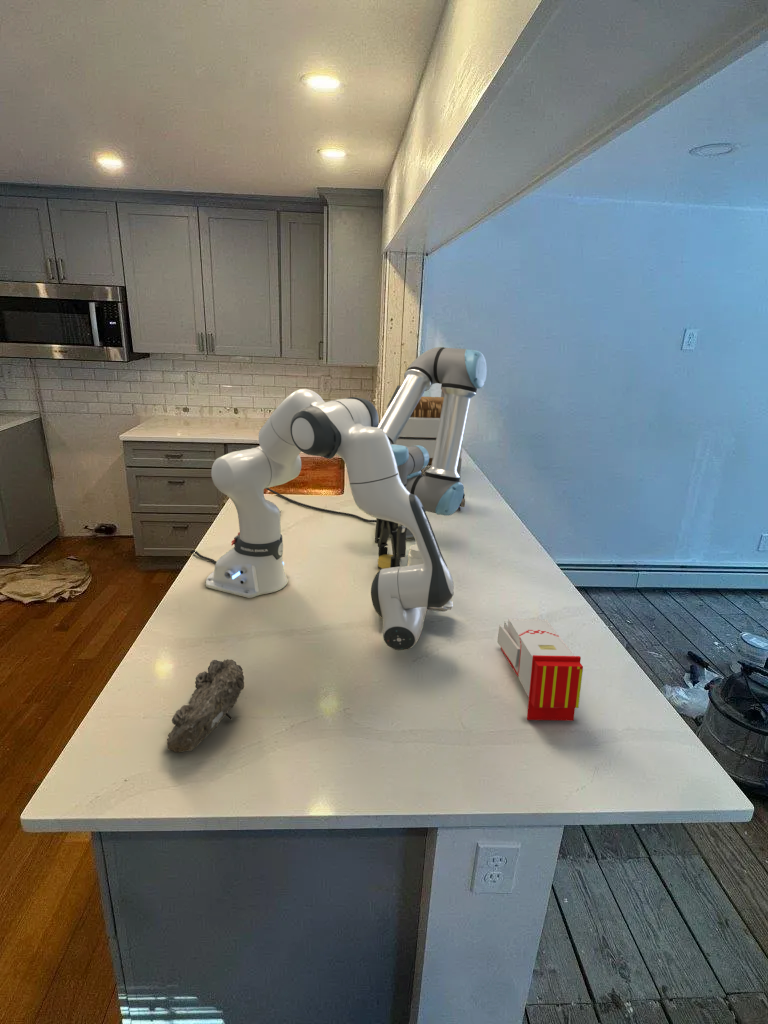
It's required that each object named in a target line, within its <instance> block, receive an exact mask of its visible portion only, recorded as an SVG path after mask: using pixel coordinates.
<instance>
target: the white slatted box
mask: <svg viewBox="0 0 768 1024" xmlns="http://www.w3.org/2000/svg"><path fill="white" fill-rule="evenodd" d="M400 387H401V385H399V384H398V385H397V386H396V388H395V390H394V392H393V394H392V395H391V398H390V400H389V402H388V404H387V405H386V410H387V409H388V407H389V406H390V404H391V402H392V401H393V399H394V397H395V395H396V394H397V392H398V390H399V389H400ZM440 393H441V394H440V396H422V397H421V398H420V400H419V402H418V404H417V406H416V407H415V409H414V411H413V413H412V414H411V416H410V418H409V420H408V421H407V423H406V425H405V427H404V428H403V430H402V432H401V434H400V435H399V437H398V439H397V441H396V443H395V444H396V445H402V446H407V447H411V446H414V445H415V446H416V445H420V446H422V447H424V448H425V449H426V450H427V451H428V454H429V463H428V465H427V466H426V467H431V465H432V459H433V454H434V448H435V443H436V438H437V432H438V427H439V421H440V416H441V411H442V405H443V400H444V393H443V391H442V390H441V392H440ZM463 442H464V440H462V445H461V451H460V456H459V461H458V466H457V473H458V474H459V476H460V477H461V472H462V461H463V460H462V453H463ZM459 482H460V483H461V479H460V480H459Z"/></svg>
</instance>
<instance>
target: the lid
mask: <svg viewBox="0 0 768 1024" xmlns="http://www.w3.org/2000/svg"><path fill="white" fill-rule="evenodd" d="M392 556H393V554H391V553H389V554H388V553H387V554H384V555H381V556H379V558H377V567H378V566H379V567H380V568H381V569H385V568H390V565H391V557H392Z"/></svg>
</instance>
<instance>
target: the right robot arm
mask: <svg viewBox="0 0 768 1024" xmlns="http://www.w3.org/2000/svg"><path fill="white" fill-rule="evenodd" d="M487 371H488V367H487V361H486V358H485V356H484V354H483V353H482V352H481V351H479V350H476V349H475V350H474V349H471V348H457V347H455V348H454V347H444V346H437V347H433V348H430V349H428V350H426V351H424V352H423V353H421V354H420V355H418V356H417V357H416V358H415V359H414V360H413V361H412V362H411V363H410V365H409V366H408V367H407V368H406V370H405V372H404V375H403V378H404V380H403V381H402V383H401V385H400V386H401V387H400V389H399V390H398V392H397V394H396V395H395V397H394V399H393V401H392V402H391V404H390V406H389V407H388V409H387V408H386V411H385V412H384V414H383V416H382V418H381V420H379V423H378V428H379V429H381V430H383V431H384V432H385V433H386V435H387V437H388V439H389V442H390V444H391V447H392V450H393V453H394V456H395V459H396V463H397V467H398V473H399V476H400V479H401V482H402V484H403V485H404V487H405V488H406V489H407V491H408V492H409V493H410V494H413V495H416V496H417V497H418V498H419V500H420V501H421V503H422V505H423V507H424V510H425V512H428V513H432V514H435V515H441V516H445V517H448V516H449V517H450V516H452V515H453V514H454V513H456V511H457V510H459V509H458V507H459V506H460V504H461V501H462V498H463V495H464V494H465V490H464V489H465V487H464V484H463V483H462V482H461V475H460V476H459V474H458V473H457V466H458V461H459V456H460V451H461V445H462V446H463V443H462V441H464V440H463V439H464V434H465V429H466V424H467V419H468V414H469V407H470V403H471V399H472V398H473V397H475V396H476V395H477V392H478V391H477V390H478V389H482V388H483V387H484V385H485V383H486V380H487V373H488V372H487ZM435 384H439V385H440V384H441V386H440V390H441V392H442V391H443V393H444V400H443V405H442V411H441V416H440V421H439V427H438V432H437V438H436V443H435V448H434V454H433V459H432V465H430V466H429V465H428V463H429V454H428V451H427V450H426V449H425V448H424V447H422V446H420V445H416V446H415V445H414V446H411V447H407V446H402V445H396V444H395V443H396V441H397V439H398V437H399V435H400V434H401V432H402V430H403V428H404V427H405V425H406V423H407V421H408V420H409V418H410V416H411V414H412V413H413V411H414V409H415V407H416V406H417V404H418V402H419V400H420V398H421V397H423V395H424V393H425V392H427V391H430V389H431V387H432V386H433V385H435ZM427 465H428V466H429V468H427V469H426V470H425V473H424V475H423V474H422V471H423V469H425V468H426V467H428V466H427ZM459 480H460V482H459ZM264 490H267V491H268V492H270V493H273V494H274V495H276V496H278V497H280V498H281V499H284V500H286V501H287V502H288V501H289V502H291V503H293V504H295V505H298V506H301V507H305V508H308V509H312V510H316V511H319V512H325V513H330V514H335V515H341V516H347V517H352V518H354V519H358V520H360V521H362V522H366V523H375V533H374V543H375V544H376V545H377V548H378V554H377V555H378V558H379V556H381V555H384V554H388V553H389V550H388V549H389V548H388V547H389V544H388V540H390V543H391V551H392V552H391V553H392V555H393V556H392V557H391V565H390V568H392V567H400V566H401V559H404V558H406V557H407V556H406V553H407V541H410V540H415V538H414V536H413V534H412V532H411V531H410V530H409V529H408V528H406V527H405V526H403V525H401V524H398V523H395V522H392V521H387V520H382V519H378V518H375V519H367V518H364V517H361V516H360V515H356V514H353V513H349V512H344V511H338V510H333V509H332V510H331V509H326V508H321V507H316V506H313V505H309V504H306V503H302V502H299V501H297V500H295V499H292V498H289V497H287V496H285V495H283V494H281V493H279V492H277V491H276V490H273V489H271V488H270V487H269V488H265V489H264ZM460 507H461V506H460ZM378 558H377V559H378ZM377 569H379V570H381V569H382V568H380V567H379V566H378V565H377Z"/></svg>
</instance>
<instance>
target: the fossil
mask: <svg viewBox="0 0 768 1024" xmlns="http://www.w3.org/2000/svg"><path fill="white" fill-rule="evenodd" d="M243 670H244V669H243V667H242V665H240V664H237V662H236V661H235V660H234V659H232V658H231V659H227V658H226V659H224V660H223V661H222V660H217V659H212V660H211V661H210V663H209V665H208V666H207V671H201V672H199V673H198V674H197V675H196V676H195V680H194V684H195V685H194V687H195V689H194V690H193V693H192V694H191V697H190V698H189V700H188V704H184V705H182V706H181V707H180V709H177V710H176V711H175V713H174V715H173V716H172V718H171V723H172V724H173V727H172V730H171V731H170V732H168V734H167V738H166V741H167V742H166V745H167V749H168V750H169V751H173V752H174V753H176V754H178V753H182V752H188V751H189V752H192V751H193V750H195V748H196V747H197V746H199V744H200V743H201V742H203V741H204V740H205V739H206V738H207V737H208V736H209V735H210V734H211V733H212V732H214V730H215V729H217V727H218V726H219V724H220V722H221V721H222V720H223V719H224V718H225V716H226V717H227V719H229V720H233V717H232V715H230V714H229V710H230V709H231V708H234V706H235V704H236V703H237V702H238V699H239V697H240V695H241V693H242V691H243V690H245V689H244V688H245V675H244V671H243Z"/></svg>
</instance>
